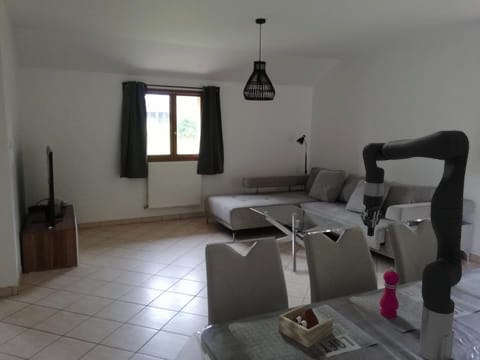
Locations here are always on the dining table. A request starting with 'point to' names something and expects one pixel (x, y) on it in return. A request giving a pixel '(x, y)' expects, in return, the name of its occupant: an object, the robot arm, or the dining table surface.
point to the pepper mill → (389, 295)
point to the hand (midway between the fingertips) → (370, 235)
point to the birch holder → (301, 333)
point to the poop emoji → (307, 319)
